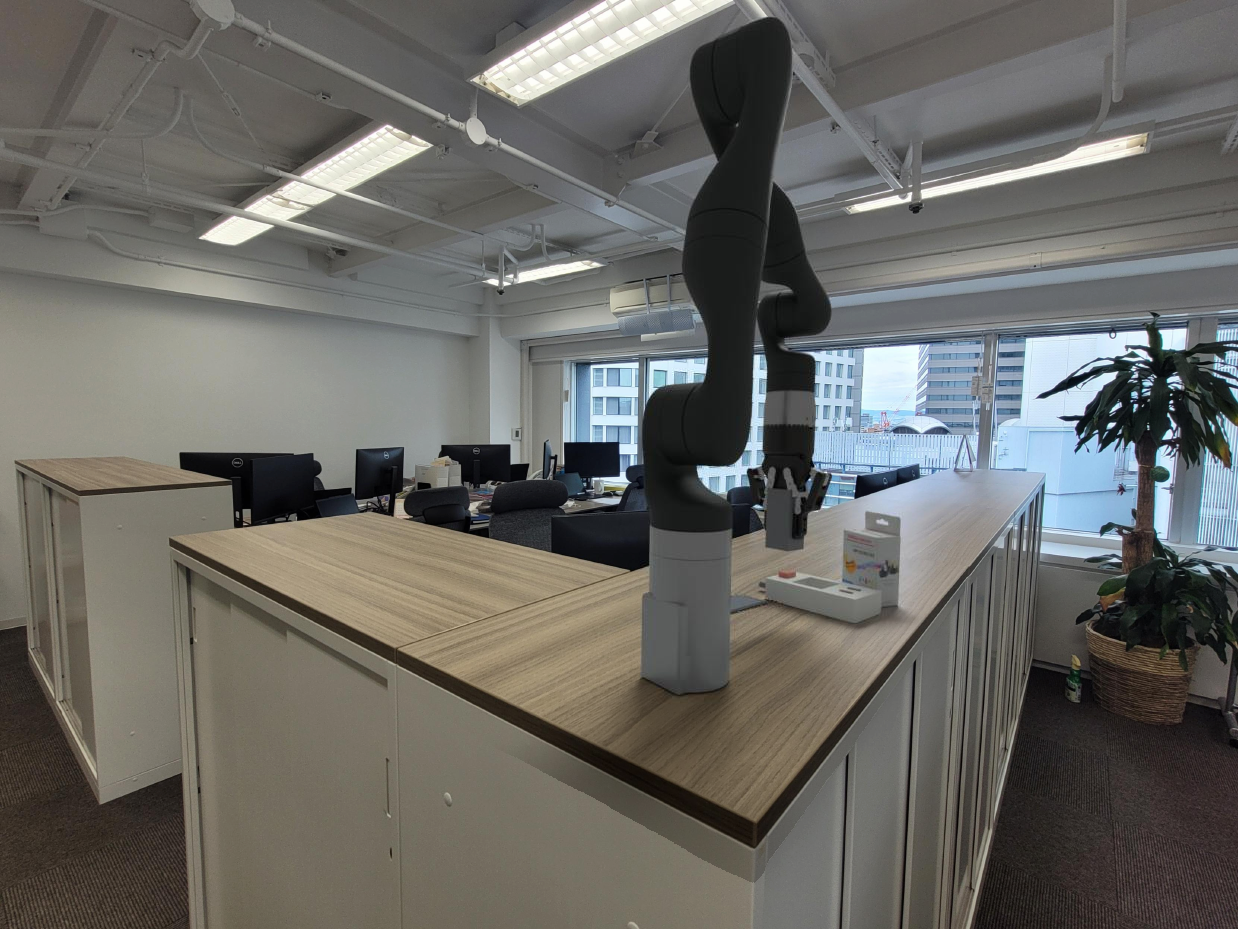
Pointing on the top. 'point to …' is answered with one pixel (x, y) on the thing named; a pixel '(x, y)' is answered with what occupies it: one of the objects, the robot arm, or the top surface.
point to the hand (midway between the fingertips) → (784, 536)
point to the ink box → (874, 556)
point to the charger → (780, 521)
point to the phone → (744, 603)
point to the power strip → (823, 596)
